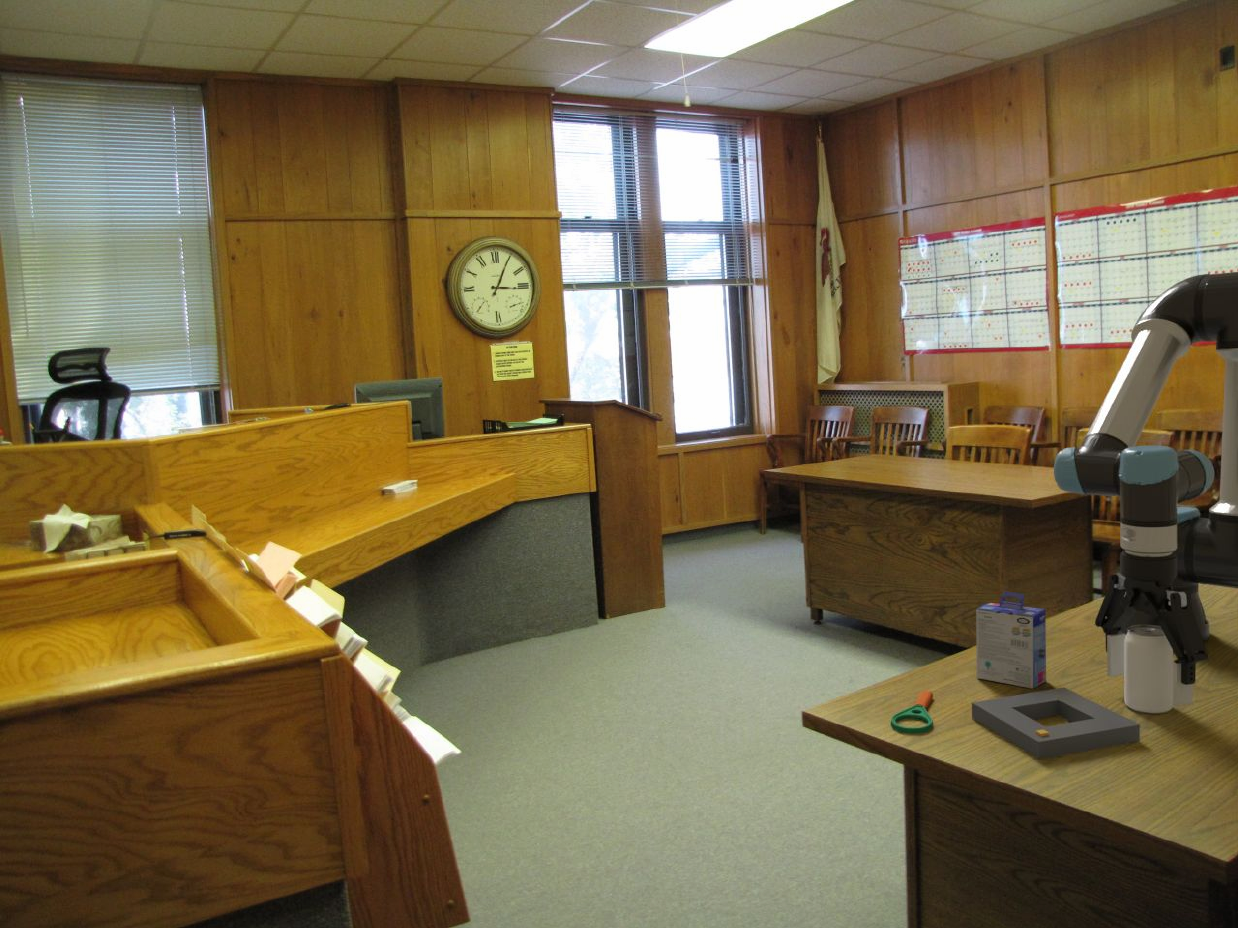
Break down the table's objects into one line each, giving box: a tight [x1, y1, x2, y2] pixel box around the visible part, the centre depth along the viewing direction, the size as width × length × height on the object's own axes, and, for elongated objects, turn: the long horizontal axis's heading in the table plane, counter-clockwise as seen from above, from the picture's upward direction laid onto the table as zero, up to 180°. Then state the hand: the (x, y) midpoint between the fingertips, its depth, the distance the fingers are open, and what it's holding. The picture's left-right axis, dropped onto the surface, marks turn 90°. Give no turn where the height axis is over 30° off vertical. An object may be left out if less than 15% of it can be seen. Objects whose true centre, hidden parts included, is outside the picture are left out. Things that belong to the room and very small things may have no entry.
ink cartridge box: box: [975, 591, 1047, 689], centre depth 167 cm, size 10×6×14 cm, turn 46°
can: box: [1123, 625, 1174, 715], centre depth 153 cm, size 6×6×12 cm
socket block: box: [971, 687, 1141, 760], centre depth 147 cm, size 16×16×3 cm
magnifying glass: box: [890, 690, 934, 735], centre depth 156 cm, size 15×6×2 cm, turn 152°
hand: (1148, 688), depth 153 cm, fingers open, 13 cm apart
